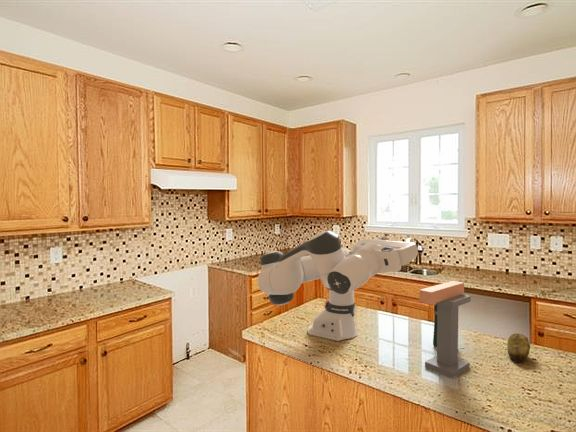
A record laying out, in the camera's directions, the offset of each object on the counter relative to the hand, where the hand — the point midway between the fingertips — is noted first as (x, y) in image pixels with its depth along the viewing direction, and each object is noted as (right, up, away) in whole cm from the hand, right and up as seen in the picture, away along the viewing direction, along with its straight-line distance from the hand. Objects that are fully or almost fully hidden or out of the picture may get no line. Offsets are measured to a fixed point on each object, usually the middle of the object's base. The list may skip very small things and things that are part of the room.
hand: (397, 239), depth 107 cm
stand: (+22, -47, +12) cm, 53 cm away
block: (+19, -21, +9) cm, 30 cm away
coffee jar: (+29, -47, +29) cm, 62 cm away
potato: (+52, -47, +20) cm, 73 cm away
